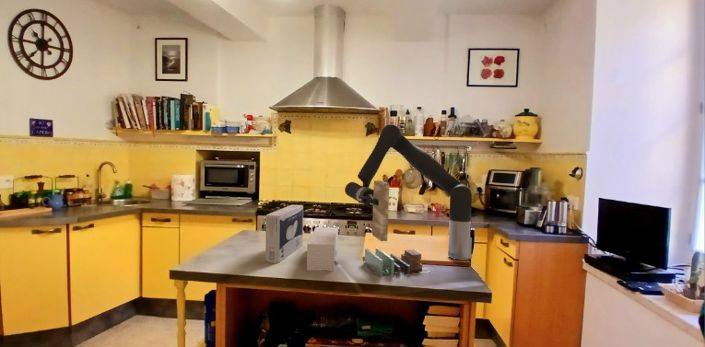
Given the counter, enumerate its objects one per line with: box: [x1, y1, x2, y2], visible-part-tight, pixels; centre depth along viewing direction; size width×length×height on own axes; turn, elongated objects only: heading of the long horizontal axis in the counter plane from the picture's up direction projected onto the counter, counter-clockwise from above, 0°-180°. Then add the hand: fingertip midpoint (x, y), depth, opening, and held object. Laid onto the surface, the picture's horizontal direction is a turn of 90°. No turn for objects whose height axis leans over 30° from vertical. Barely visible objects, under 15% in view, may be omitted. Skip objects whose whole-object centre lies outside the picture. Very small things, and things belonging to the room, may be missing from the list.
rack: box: [363, 247, 433, 277], centre depth 148 cm, size 22×17×8 cm
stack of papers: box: [306, 226, 339, 272], centre depth 163 cm, size 32×11×11 cm, turn 0°
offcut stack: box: [400, 249, 423, 270], centre depth 149 cm, size 5×9×6 cm, turn 17°
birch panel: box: [371, 180, 390, 242], centre depth 144 cm, size 2×10×22 cm, turn 17°
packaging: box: [264, 204, 304, 264], centre depth 170 cm, size 30×6×20 cm, turn 168°
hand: (381, 202), depth 143 cm, fingers closed on birch panel, 2 cm apart
